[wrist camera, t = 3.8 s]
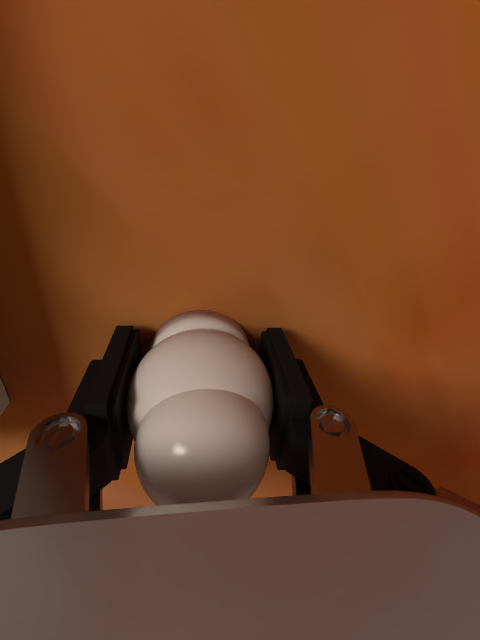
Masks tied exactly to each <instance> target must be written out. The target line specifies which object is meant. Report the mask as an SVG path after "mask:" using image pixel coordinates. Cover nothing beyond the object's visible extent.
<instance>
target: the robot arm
mask: <svg viewBox="0 0 480 640" xmlns="http://www.w3.org/2000/svg"><path fill="white" fill-rule="evenodd" d="M258 356H259V357H260V359H261V360H262V362H263V363H264V365H265V367H266V369H267V371H268V374H269V376H270V379H271V383H272V387H273V395H274V408H273V416H272V421H271V424H270V427H269V430H268V432H269V440H270V451H269V455H270V459H271V460H272V461H274V460H276V464H277V469H278V470H286V471H287V472H289V473H290V474H291V475H293V476H292V496H281V497H267V498H253V499H240V500H226V501H213V502H200V503H187V504H174V505H161V506H149V507H136V508H124V509H112V510H103V504H102V489H103V488H104V487H105V486H106V485H108V484H109V483H110V482H111V480H118V479H119V475H120V471H121V469H126V468H127V464H128V460H129V455H130V450H131V445H132V441H133V436H132V434H131V432H130V429H129V424H128V420H127V409H126V407H127V394H128V388H129V385H130V382H131V379H132V376H133V374H134V372H135V370H136V368H137V366H138V365H139V363H140V361H141V352H140V340H139V331H138V330H134V329H133V326H116V328H115V331H114V333H113V335H112V338H111V340H110V343H109V345H108V347H107V350H106V352H105V354H104V357H103V359H102V360H92V361H91V362H90V364H89V366H88V368H87V370H86V372H85V374H84V377H83V379H82V381H81V383H80V385H79V387H78V389H77V391H76V394H75V396H74V398H73V400H72V402H71V404H70V406H69V408H68V411H67V413H60V414H56V415H53V416H51V417H49V418H47V419H45V420H43V421H42V422H41V423H39V424H38V425H37V426H36V427H35V428H34V429H33V430H32V432H31V433H30V436H29V438H28V442H27V447H26V449H24V450H23V451H21V452H19V453H17V454H16V455H14V456H12V457H11V458H9V459H7V460H5V461H4V462H2V463H0V640H480V505H478V504H476V503H474V502H472V501H470V500H467V499H465V498H463V497H461V496H459V495H457V494H455V493H453V492H451V491H449V490H447V489H445V488H442V487H439V488H438V489H436V488H434V487H433V486H432V484H431V483H430V481H429V480H428V479H427V478H426V477H425V476H424V475H423V474H422V473H421V472H420V471H418V470H417V469H415V468H414V467H412V466H410V465H409V464H407V463H405V462H404V461H402V460H400V459H398V458H397V457H395V456H393V455H391V454H390V453H388V452H386V451H384V450H383V449H381V448H379V447H377V446H376V445H374V444H372V443H370V442H369V441H367V440H365V439H364V438H362V437H360V436H358V434H357V430H356V426H355V424H354V421H353V420H352V418H351V417H350V416H349V415H348V414H347V413H345V412H344V411H343V410H341V409H339V408H337V407H333V406H329V405H323V403H322V401H321V399H320V396H319V394H318V392H317V390H316V388H315V386H314V384H313V382H312V380H311V378H310V376H309V374H308V371H307V369H306V367H305V365H304V363H303V361H302V360H300V359H295V357H294V355H293V353H292V351H291V348H290V346H289V344H288V342H287V340H286V337H285V335H284V333H283V331H282V329H281V328H267V330H266V331H262V334H261V340H260V346H259V352H258Z"/></svg>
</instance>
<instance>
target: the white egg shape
mask: <svg viewBox="0 0 480 640" xmlns="http://www.w3.org/2000/svg"><path fill="white" fill-rule="evenodd" d="M273 408H274V395H273V387H272V383H271V379H270V376H269V374H268V371H267V369H266V367H265V365H264V363H263V362H262V360H261V359H260V357H259V356H258V354H257V353H256V352H255V351H254V350H253V349H252V348H251V347H250V346H249V343H248V339H247V336H246V334H245V332H244V331H243V329H242V328H241V327H240V326H239V324H238V323H236V322H235V321H234V320H233V319H231V318H229V317H228V316H225V315H223V314H221V313H218V312H213V311H207V310H195V311H188V312H185V313H181V314H179V315H176V316H174V317H172V318H171V319H169V320H168V321H166V322H165V323H164V324H163V325H162V326H161V327H160V328H159V329H158V330H157V332H156V333H155V335H154V337H153V339H152V342H151V347H150V351H149V352H148V353H147V354H146V355H145V356H144V357H143V359H142V360H141V361H140V363H139V365H138V366H137V368H136V370H135V372H134V374H133V376H132V379H131V382H130V385H129V388H128V394H127V407H126V409H127V420H128V424H129V429H130V432H131V434H132V436H133V439H134V441H135V445H134V459H135V466H136V471H137V475H138V478H139V480H140V483H141V485H142V487H143V489H144V490H145V492H146V494H147V495H148V496H149V498H150V499H151V500H152V501H153V502H154V503H155V504H156V505H157V506H161V505H174V504H187V503H200V502H213V501H226V500H240V499H249V498H250V497H251V496H252V495H253V493H254V492H255V491H256V489H257V488H258V486H259V484H260V482H261V480H262V478H263V476H264V474H265V471H266V467H267V464H268V458H269V451H270V440H269V432H268V430H269V427H270V424H271V421H272V416H273Z"/></svg>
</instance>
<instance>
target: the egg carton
mask: <svg viewBox="0 0 480 640" xmlns="http://www.w3.org/2000/svg"><path fill="white" fill-rule="evenodd" d="M9 403H10V401H9V398H8V396H7V393H6V391H5V388H4V386H3V383H2V381H1V378H0V416H1V414H2V413H3V411H4V410H5V409H6V407H7V406H8V404H9Z"/></svg>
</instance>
